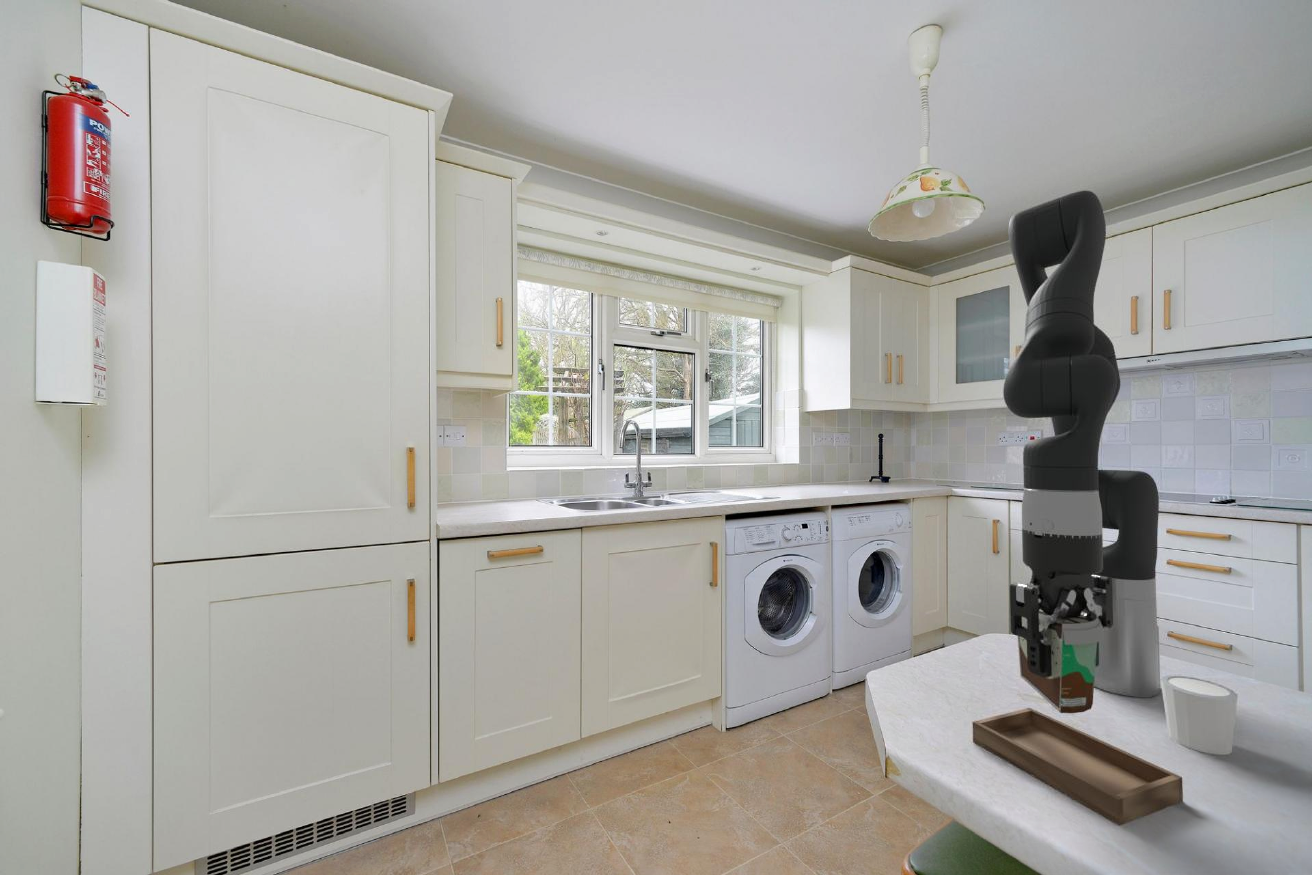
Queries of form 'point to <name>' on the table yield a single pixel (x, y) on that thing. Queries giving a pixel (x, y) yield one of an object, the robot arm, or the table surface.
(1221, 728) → the white cup
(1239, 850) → the table surface
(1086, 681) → the food container
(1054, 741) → the walnut tray
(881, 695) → the table surface
